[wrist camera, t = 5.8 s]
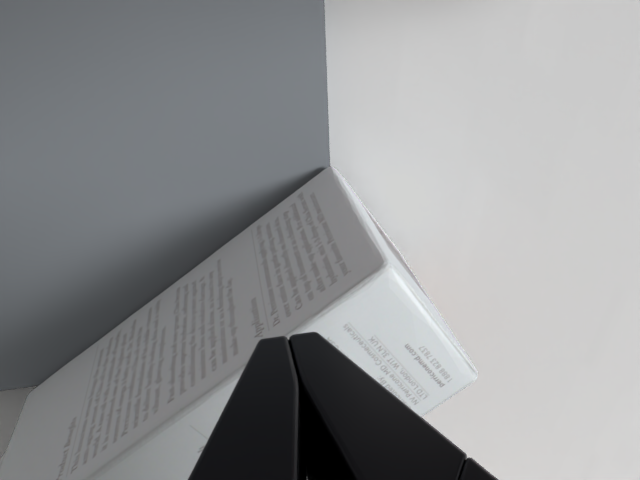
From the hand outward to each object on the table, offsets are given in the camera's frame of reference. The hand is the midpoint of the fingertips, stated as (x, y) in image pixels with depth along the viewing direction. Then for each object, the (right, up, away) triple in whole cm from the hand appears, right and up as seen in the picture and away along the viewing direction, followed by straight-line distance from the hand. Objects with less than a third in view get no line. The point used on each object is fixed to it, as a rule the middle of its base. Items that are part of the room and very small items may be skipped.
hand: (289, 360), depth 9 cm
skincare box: (+3, +1, +7) cm, 7 cm away
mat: (-5, +4, +8) cm, 10 cm away
